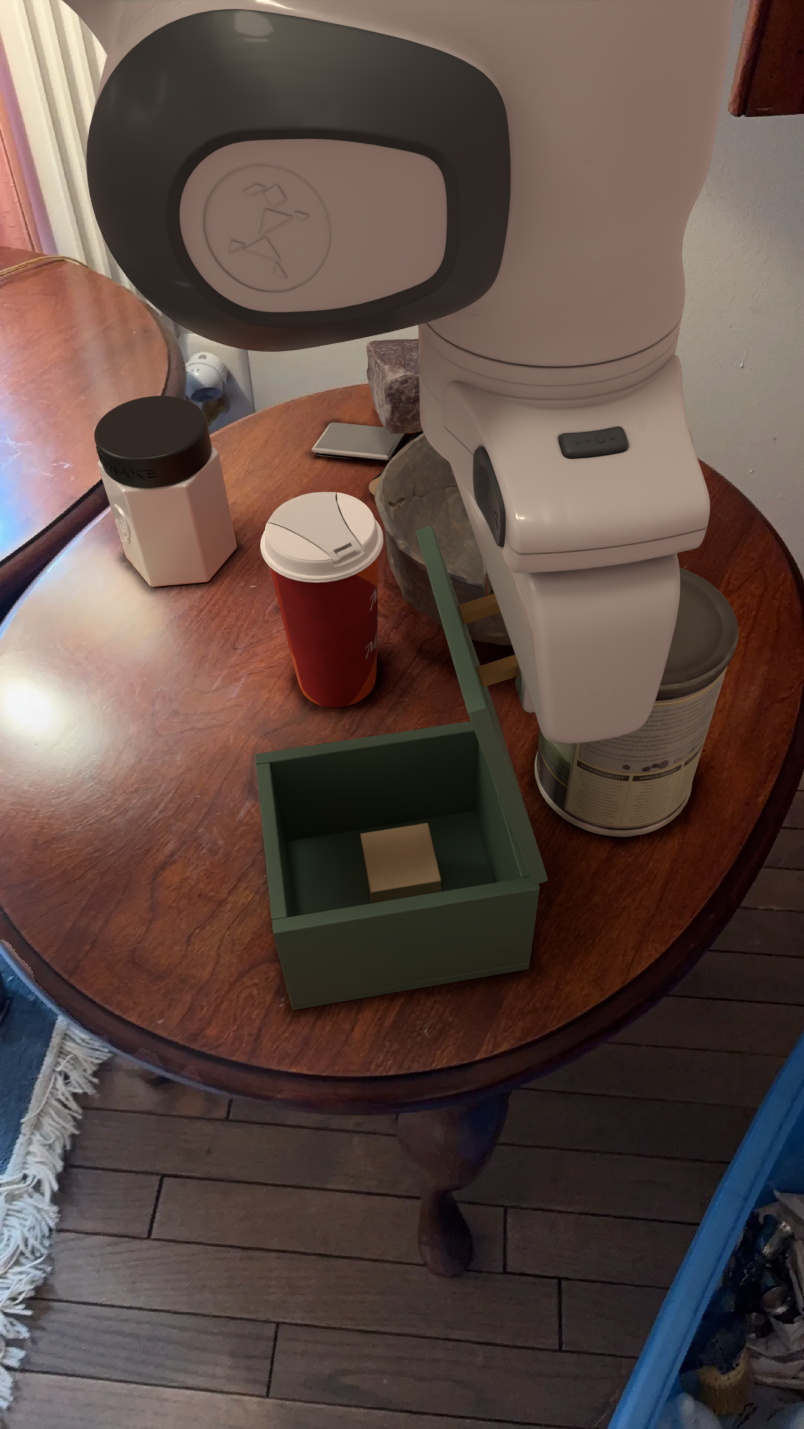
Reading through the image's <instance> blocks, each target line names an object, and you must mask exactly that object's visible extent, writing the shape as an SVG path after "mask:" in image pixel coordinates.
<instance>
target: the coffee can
mask: <svg viewBox="0 0 804 1429" xmlns="http://www.w3.org/2000/svg"><path fill="white" fill-rule="evenodd" d="M679 569H680V599H679V608H678V614H677V620H676V625H675V629H674V633H673V637H672V642H671V646H670V650H669V654H668V658H667V661H666V665H665V669H664V673H663V676H662V680H661V684H660V687H659V690H658V693H657V697H656V700H655V703H654V706H653V709H652V711H651V714H650V716H649V718H648V720H647V721H646V723H645V724H644V725H643V726H642V727H641V728H639V729H638V730H636V731H634V732H632V733H629V734H627V735H623V736H619V737H615V738H610V739H605V740H600V741H594V742H585V743H575V744H556V743H552V742H549V741H548V740H546V738H545V737H544V736H543V734H542V732H541V729H540V728H539V733H538V744H537V751H536V755H535V760H534V778H535V781H536V785H537V787H538V790H539V792H540V794H541V795H542V797H543V799H544V800H545V802H546V803H547V805H548V806H549V807H550V808H551V809H552V810H553V811H554V812H555V813H556V814H557V815H558V816H560V817H561V818H562V819H564V820H565V821H566V822H568V823H570V824H571V825H573V826H575V827H578V828H579V829H582V830H584V831H586V832H590V833H593V834H597V835H601V836H607V837H618V838H619V837H620V838H629V837H634V836H642V835H646V834H649V833H652V832H654V831H657V830H658V829H659V830H660V829H661V828H663V827H664V826H667V824H669V823H671V822H672V821H673V820H674V819H675V818H676V817H677V816H679V815H680V814H681V813H682V811H683V809H684V808H685V807H686V805H687V804H688V801H689V798H690V797H691V793H692V787H693V781H694V779H695V778H694V777H695V775H696V771H697V768H698V764H699V762H700V758H701V755H702V751H703V748H704V745H705V742H706V738H707V736H708V733H709V730H710V729H709V728H710V726H711V723H712V718H713V716H714V712H715V709H716V706H717V702H718V699H719V695H720V692H721V689H722V687H723V686H722V685H723V682H724V679H725V675H726V672H727V669H728V666H729V665H730V663H731V661H732V659H733V657H734V654H735V652H736V649H737V646H738V644H739V643H738V642H739V636H740V635H739V634H740V630H739V623H738V619H737V615H736V614H735V611H734V609H733V608H732V606H731V604H730V603H729V601H728V599H727V598H726V597H725V596H724V594H723V593H722V592H721V591H720V590H719V589H718V588H717V587H716V586H714V585H713V584H712V583H711V582H709V581H708V580H707V579H705V578H703V577H702V576H700V575H698V574H696V573H694V572H693V571H690V570H688V569H686V568H683V567H680V566H679Z"/></svg>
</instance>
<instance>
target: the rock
mask: <svg viewBox="0 0 804 1429" xmlns="http://www.w3.org/2000/svg"><path fill="white" fill-rule="evenodd" d="M365 349H366V356H367V357H366V358H367V368H366V377H367V381H368V385H369V389H370V393H371V397H372V398H371V399H372V402H373V406H374V410H375V411H376V414H377V415H378V419H379V421H380V423H381V424H382V427H384V428H385V429H386V430H388V431H389V432H391V433H406V434H412V433H413V434H414V433H416V432H420V431H423V429H422V427H421V422H420V395H419V345H418V338H410V339H409V338H401V339H399V338H396V339H395V338H393V339H383V340H382V339H381V340H380V339H379V340H371V341H369V342H367V344H366V348H365Z"/></svg>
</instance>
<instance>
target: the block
mask: <svg viewBox="0 0 804 1429" xmlns="http://www.w3.org/2000/svg"><path fill="white" fill-rule="evenodd" d="M360 837H361V846H362V856H363V865H364V873H365V879H366V884H367V890H368V896H369V901H370V904H371V903H377V902H383V901H389V900H395V899H401V898H407V897H413V896H419V895H425V894H431V893H437V892H441V876H440V872H439V868H438V863H437V859H436V855H435V851H434V846H433V842H432V838H431V833H430V829H429V825H428V823H423V824H417V825H411V826H405V827H399V828H393V829H386V830H380V831H374V832H368V833H362V834H360Z"/></svg>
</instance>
